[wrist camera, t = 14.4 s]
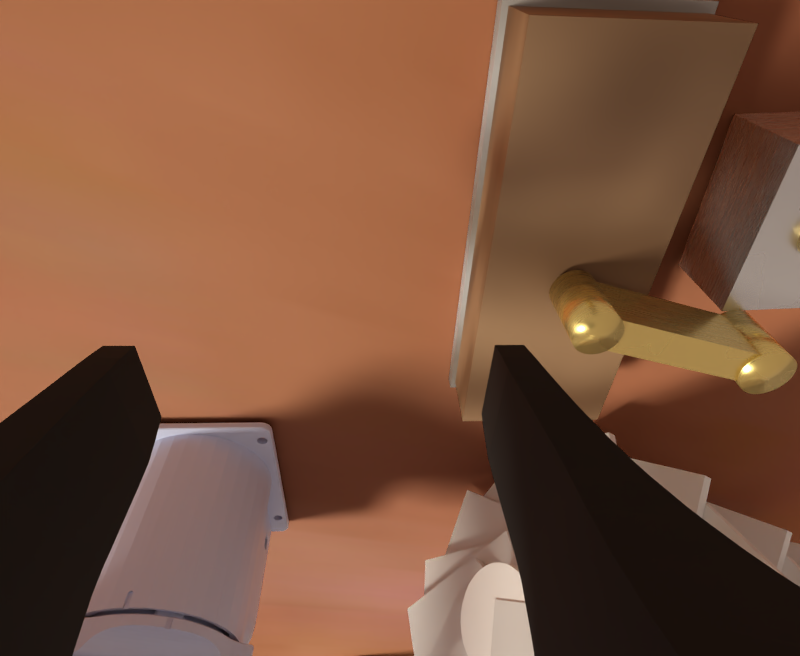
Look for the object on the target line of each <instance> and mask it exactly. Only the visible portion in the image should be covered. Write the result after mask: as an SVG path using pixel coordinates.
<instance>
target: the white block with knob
mask: <svg viewBox="0 0 800 656" xmlns="http://www.w3.org/2000/svg"><path fill="white" fill-rule="evenodd" d="M679 266H680V267H681V268H682V269H683V270H684V271H685V273H686V274H687V275H688V276H689V277H690V278H691V279H692V280H693V281H694V282H695V283H696V284H697V285H698V286H699V287H700V288H701V289H702V291H703V292H704V293H705V294H706V295H707V296H708V297H709V298H710V299H711V300H712V301H713V302H714V303H715V304H716V305H717V306H718V307H719V308H720V310H721V311H732V310H760V309H784V308H800V112H775V113H746V114H734V116H733V118H732V121H731V124H730V126H729V129H728V132H727V135H726V137H725V140H724V143H723V145H722V148H721V151H720V154H719V156H718V159H717V162H716V164H715V167H714V170H713V173H712V175H711V178H710V181H709V183H708V186H707V189H706V191H705V194H704V197H703V200H702V202H701V205H700V208H699V210H698V213H697V216H696V219H695V221H694V224H693V227H692V229H691V232H690V235H689V238H688V240H687V243H686V246H685V248H684V251H683V254H682V256H681V259H680V262H679Z"/></svg>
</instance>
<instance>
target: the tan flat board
mask: <svg viewBox="0 0 800 656" xmlns="http://www.w3.org/2000/svg"><path fill="white" fill-rule="evenodd" d="M718 3H719V1H713V0H498V3H497V11H496V19H495V27H494V34H493V42H492V50H491V57H490V65H489V73H488V80H487V88H486V96H485V104H484V111H483V119H482V127H481V134H480V142H479V150H478V157H477V165H476V173H475V181H474V188H473V196H472V204H471V211H470V219H469V227H468V234H467V242H466V250H465V258H464V265H463V273H462V281H461V288H460V296H459V304H458V311H457V319H456V327H455V335H454V342H453V350H452V358H451V365H450V373H449V383H450V387H456V390H457V395H458V400H459V405H460V410H461V416H462V421H482V414H481V413H482V408H483V403H484V398H485V393H486V388H487V383H488V378H489V373H490V368H491V362H492V357H493V352H494V347H495V345H525V346H526V348H527V349H528V350H529V351H530V352H531V353H532V354H533V355H534V357H535V358H536V359H537V360H538V361H539V362H540V363H541V365H542V366H543V367H544V368H545V369H546V370H547V372H548V373H549V374H550V375H551V376H552V377H553V378H554V380H555V381H556V382H557V383H558V384H559V385H560V386H561V387H562V389H563V390H564V391H565V392H566V393H567V394H568V395H569V396H570V397H571V399H572V400H573V401H574V402H575V403H576V404H577V405H578V406H579V407H580V408H581V409H582V410H583V411H584V413H585V414H586V415H587V416H588V417H589V418H590V419H591V420H597V419H598V417H599V415H600V412H601V410H602V407H603V405H604V402H605V400H606V397H607V395H608V392H609V390H610V387H611V385H612V383H613V380H614V378H615V375H616V373H617V370H618V368H619V365H620V363H621V360H622V358H623V354H619V353H615V352H610V351H605V352H602V353H599V354H584V353H581V352H579V351H577V350H576V349H575V348H574V346H573V344H572V342H571V340H570V338H569V336H568V334H567V332H566V330H565V328H564V326H563V324H562V322H561V320H560V318H559V316H558V314H557V312H556V310H555V308H554V306H553V304H552V303H551V301H550V298H549V290H550V287H551V285H552V283H553V282H554V281H555V280H556V279H557V278H558V277H559V276H560V275H562V274H564V273H566V272H569V271H573V270H582V271H586V272H588V273H589V274H591V275H592V276H593V278H594V279H595V281H596V282H599V283H603V284H607V285H610V286H614V287H618V288H622V289H626V290H629V291H633V292H637V293H641V294H645V295H648V294H649V291H650V289H651V287H652V284H653V282H654V279H655V277H656V274H657V272H658V269H659V267H660V264H661V262H662V259H663V257H664V255H665V252H666V250H667V247H668V245H669V242H670V240H671V237H672V235H673V232H674V230H675V227H676V225H677V223H678V220H679V218H680V215H681V213H682V210H683V208H684V205H685V203H686V200H687V198H688V195H689V193H690V191H691V188H692V186H693V183H694V181H695V178H696V176H697V173H698V171H699V168H700V166H701V163H702V161H703V159H704V156H705V154H706V151H707V149H708V146H709V144H710V141H711V139H712V136H713V134H714V131H715V129H716V127H717V124H718V122H719V119H720V117H721V114H722V112H723V109H724V107H725V104H726V102H727V100H728V97H729V95H730V92H731V90H732V87H733V85H734V82H735V80H736V77H737V75H738V72H739V70H740V68H741V65H742V63H743V60H744V58H745V55H746V53H747V50H748V48H749V45H750V43H751V40H752V38H753V36H754V33H755V31H756V28H757V26H758V23H753V22H748V21H743V20H739V19H734V18H729V17H724V16H719V15H715V12H716V9H717V6H718Z"/></svg>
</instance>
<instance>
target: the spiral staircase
mask: <svg viewBox="0 0 800 656" xmlns="http://www.w3.org/2000/svg"><path fill="white" fill-rule="evenodd" d="M605 434H606V435H607V436H608V437H609V438H610V439H611V440H612V441H613V442H614V443H615V444H616V439H615V435H613V434H611V433H609V432H608V433H605ZM616 445H617V444H616ZM631 459H632V458H631ZM632 460H633V461H634V462H635V463H636V464H637V465H638V466H640V467H641V468H642V469H643V470H644V471H645V472H646V473H647V474H649V475H650V476H651V477H652V478H653V479H654V480H656V481H657V482H658V483H659V484H660V485H662V486H663V487H664V488H665V489H666V490H668V491H669V492H670V493H671V494H672V495H674V496H675V497H676V498H677V499H678V500H680V501H681V502H682V503H683V504H685V505H686V506H687V507H688V508H690V509H691V510H692V511H693V512H695V513H696V514H697V515H699V516H700V517H701V518H702V519H704V520H705V521H706V522H708V523H709V524H710V525H712V526H713V527H715V528H716V529H717V530H719V531H720V532H721V533H723V534H724V535H725V536H727V537H728V538H730V539H731V540H732V541H734V542H735V543H736V544H738V545H739V546H740V547H742V548H743V549H745V550H746V551H747V552H749V553H750V554H752V555H753V556H755V557H756V558H757V559H759V560H760V561H762V562H763V563H765V564H766V565H768V566H769V567H771V568H772V569H774V570H775V571H776V572H778V573H779V574H781V575H782V576H784V577H786V578H787V579H789V580H790V581H792V582H793V583H795V584H796V585H798V586H799V587H800V544H799V543H794V542H790V539H791V536H792V533H791V532H789V531H788V530H785V529H782V528H779V527H776V526H774V525H771V524H768V523H765V522H762V521H760V520H757V519H754V518H751V517H748V516H746V515H743V514H740V513H737V512H734V511H732V510H729V509H726V508H723V507H720V506H718V505H715V504H712V503H709V502H706V500H707V496H708V491H709V487H710V482H711V478H709V477H707V476H705V475H701V474H697V473H693V472H688V471H684V470H680V469H676V468H671V467H667V466H663V465H658V464H654V463H650V462H645V461H641V460H637V459H632ZM408 615H409V622H410V629H411V636H412V644H413V651H414V656H534V650H533V644H532V638H531V632H530V626H529V621H528V615H527V610H526V604H525V599H524V593H523V587H522V582H521V578H520V574H519V569H518V565H517V561H516V557H515V553H514V550H513V546H512V543H511V539H510V536H509V532H508V528H507V525H506V521H505V518H504V514H503V511H502V507H501V503H500V500H499V496H498V493H497V489H496V485H495V483H494V484H493V485H492V486H491V488H490V489H489V490H488V491H487V492H486V494H485V495H484V497H483V496H481V495H479V494H476V493H474V492H471V491H469V490H467V492H466V495H465V498H464V501H463V503H462V506H461V509H460V512H459V515H458V518H457V521H456V524H455V527H454V530H453V533H452V536H451V539H450V542H449V545H448V548H447V551H446V554H445V555H444V556H440V557H436V558H433V559H429V560H425V590H424V596H423V597H422V598H421V599H419V600H418V601H417V602H415V603H414V604H413V605H412V606H410V607H409V608H408Z"/></svg>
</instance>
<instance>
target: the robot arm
mask: <svg viewBox="0 0 800 656" xmlns="http://www.w3.org/2000/svg"><path fill="white" fill-rule="evenodd" d="M481 414H482V421H483V428H484V435H485V442H486V448H487V454H488V460H489V463H490V467H491V471H492V474H493V478H494V482H495V485H496V489H497V493H498V496H499V500H500V503H501V507H502V511H503V514H504V518H505V521H506V525H507V528H508V532H509V536H510V539H511V543H512V546H513V550H514V553H515V557H516V561H517V565H518V569H519V574H520V578H521V582H522V587H523V593H524V599H525V604H526V610H527V615H528V621H529V626H530V632H531V638H532V644H533V650H534V656H800V587H799V586H798V585H796V584H795V583H793V582H792V581H790V580H789V579H787V578H786V577H784V576H782V575H781V574H779V573H778V572H776V571H775V570H774V569H772V568H771V567H769V566H768V565H766V564H765V563H763V562H762V561H760V560H759V559H757V558H756V557H755V556H753V555H752V554H750V553H749V552H747V551H746V550H745V549H743V548H742V547H740V546H739V545H738V544H736V543H735V542H734V541H732V540H731V539H730V538H728V537H727V536H725V535H724V534H723V533H721V532H720V531H719V530H717V529H716V528H715V527H713V526H712V525H710V524H709V523H708V522H706V521H705V520H704V519H702V518H701V517H700V516H699V515H697V514H696V513H695V512H693V511H692V510H691V509H690V508H688V507H687V506H686V505H685V504H683V503H682V502H681V501H680V500H678V499H677V498H676V497H675V496H674V495H672V494H671V493H670V492H669V491H668V490H666V489H665V488H664V487H663V486H662V485H660V484H659V483H658V482H657V481H656V480H654V479H653V478H652V477H651V476H650V475H649V474H647V473H646V472H645V471H644V470H643V469H642V468H641V467H640V466H638V465H637V464H636V463H635V462H634V461H633V460H632V459H631V458H630V457H629V456H628V455H627V454H625V453H624V452H623V451H622V450H621V449H620V448H619V447H618V446H617V445H616V444H615V443H614V442H613V441H612V440H611V439H610V438H609V437H608V436H607V435H606V434H605V433H604V432H603V431H602V430H601V429H600V428H599V427H598V426H597V425H596V424H595V423H594V422H593V421H592V420H591V419H590V418H589V417H588V416H587V415H586V414H585V413H584V411H583V410H582V409H581V408H580V407H579V406H578V405H577V404H576V403H575V402H574V401H573V400H572V399H571V397H570V396H569V395H568V394H567V393H566V392H565V391H564V390H563V389H562V387H561V386H560V385H559V384H558V383H557V382H556V381H555V380H554V378H553V377H552V376H551V375H550V374H549V373H548V372H547V370H546V369H545V368H544V367H543V366H542V365H541V363H540V362H539V361H538V360H537V359H536V358H535V357H534V355H533V354H532V353H531V352H530V351H529V350H528V349H527V348H526V346H525V345H495V347H494V352H493V357H492V362H491V368H490V373H489V378H488V383H487V388H486V393H485V398H484V403H483V408H482V413H481ZM160 421H161V415H160V412H159V409H158V407H157V404H156V401H155V399H154V396H153V393H152V391H151V388H150V385H149V383H148V380H147V377H146V375H145V372H144V369H143V367H142V364H141V361H140V359H139V356H138V353H137V351H136V348H135V346H102V347H101V348H99V349H98V350H97V351H95V352H94V353H92V354H91V355H89V356H88V357H87V358H85V359H84V360H83V361H81V362H80V363H79V364H77V365H76V366H75V367H73V368H72V369H71V370H69V371H68V372H67V373H65V374H64V375H63V376H62V377H60V378H59V379H58V380H56V381H55V382H54V383H52V384H51V385H50V386H49V387H47V388H46V389H45V390H43V391H42V392H41V393H39V394H38V395H37V396H35V397H34V398H33V399H31V400H30V401H29V402H27V403H26V404H25V405H23V406H22V407H21V408H19V409H18V410H17V411H15V412H14V413H13V414H12V415H10V416H9V417H8V418H6V419H5V420H4V421H2V422H1V423H0V656H252V654H253V648H254V647H253V645H250V644H249V642H250V639H251V637H252V634H253V631H254V628H255V624H256V618H257V612H258V606H259V600H260V594H261V589H262V583H263V577H264V571H265V565H266V559H267V553H268V547H269V541H270V535H271V531H284V530H286V529H287V528H288V524H289V520H288V514H287V509H286V503H285V498H284V492H283V486H282V481H281V475H280V470H279V464H278V459H277V453H276V448H275V442H274V437H273V431H272V428H271V426H270V425H269V424H266V423H262V422H249V423H162V424H160ZM261 437H262V438H261Z"/></svg>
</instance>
